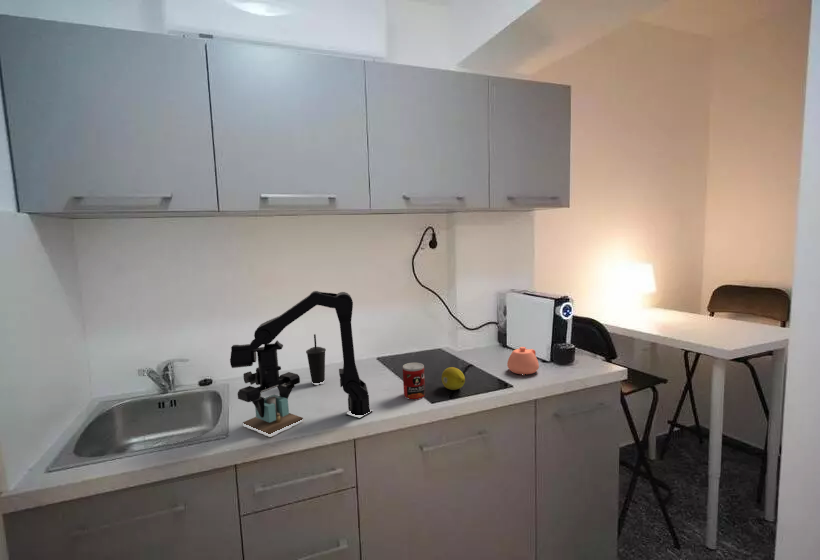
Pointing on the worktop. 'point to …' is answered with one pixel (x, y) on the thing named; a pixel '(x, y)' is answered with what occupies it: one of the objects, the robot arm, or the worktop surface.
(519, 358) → the orange teapot
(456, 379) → the lemon
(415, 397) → the canned food
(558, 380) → the worktop surface
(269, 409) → the collar
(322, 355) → the drinking cup
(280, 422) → the board
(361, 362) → the worktop surface
